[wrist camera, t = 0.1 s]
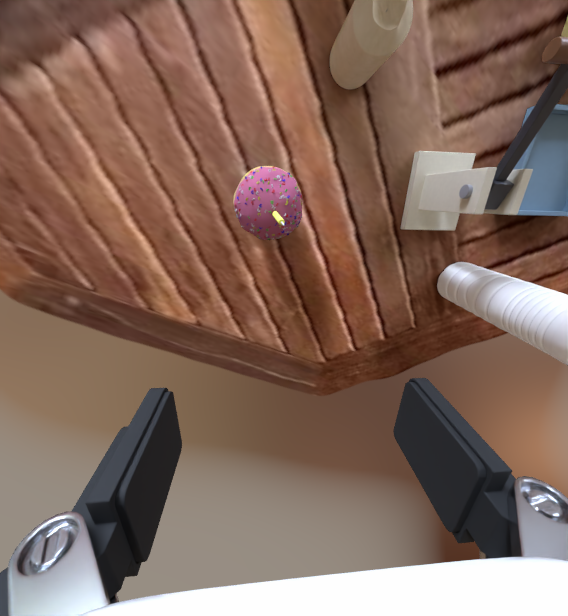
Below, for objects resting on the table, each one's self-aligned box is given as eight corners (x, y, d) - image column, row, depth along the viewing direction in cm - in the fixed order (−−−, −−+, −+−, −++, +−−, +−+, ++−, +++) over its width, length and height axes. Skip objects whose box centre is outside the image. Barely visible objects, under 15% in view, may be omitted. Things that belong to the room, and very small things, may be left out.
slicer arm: (547, 35, 20) (571, 37, 19) (603, 40, 21) (632, 42, 19) (455, 199, 30) (466, 209, 29) (495, 200, 31) (508, 210, 29)
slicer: (414, 152, 35) (483, 132, 25) (469, 154, 36) (559, 137, 25) (400, 228, 39) (453, 240, 29) (449, 229, 40) (520, 241, 29)
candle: (366, 20, 30) (415, -58, 20) (379, 77, 32) (428, 29, 23) (322, 44, 30) (350, -23, 21) (337, 98, 32) (368, 60, 23)
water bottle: (429, 278, 43) (624, 371, 20) (465, 253, 42) (715, 321, 19) (450, 314, 46) (639, 430, 23) (484, 292, 45) (718, 391, 22)
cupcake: (309, 210, 37) (331, 216, 26) (263, 247, 39) (264, 267, 28) (272, 154, 34) (279, 134, 23) (223, 197, 35) (207, 197, 24)
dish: (527, 108, 35) (543, 103, 33) (601, 113, 36) (621, 108, 34) (493, 213, 40) (505, 214, 38) (559, 215, 41) (574, 216, 39)
